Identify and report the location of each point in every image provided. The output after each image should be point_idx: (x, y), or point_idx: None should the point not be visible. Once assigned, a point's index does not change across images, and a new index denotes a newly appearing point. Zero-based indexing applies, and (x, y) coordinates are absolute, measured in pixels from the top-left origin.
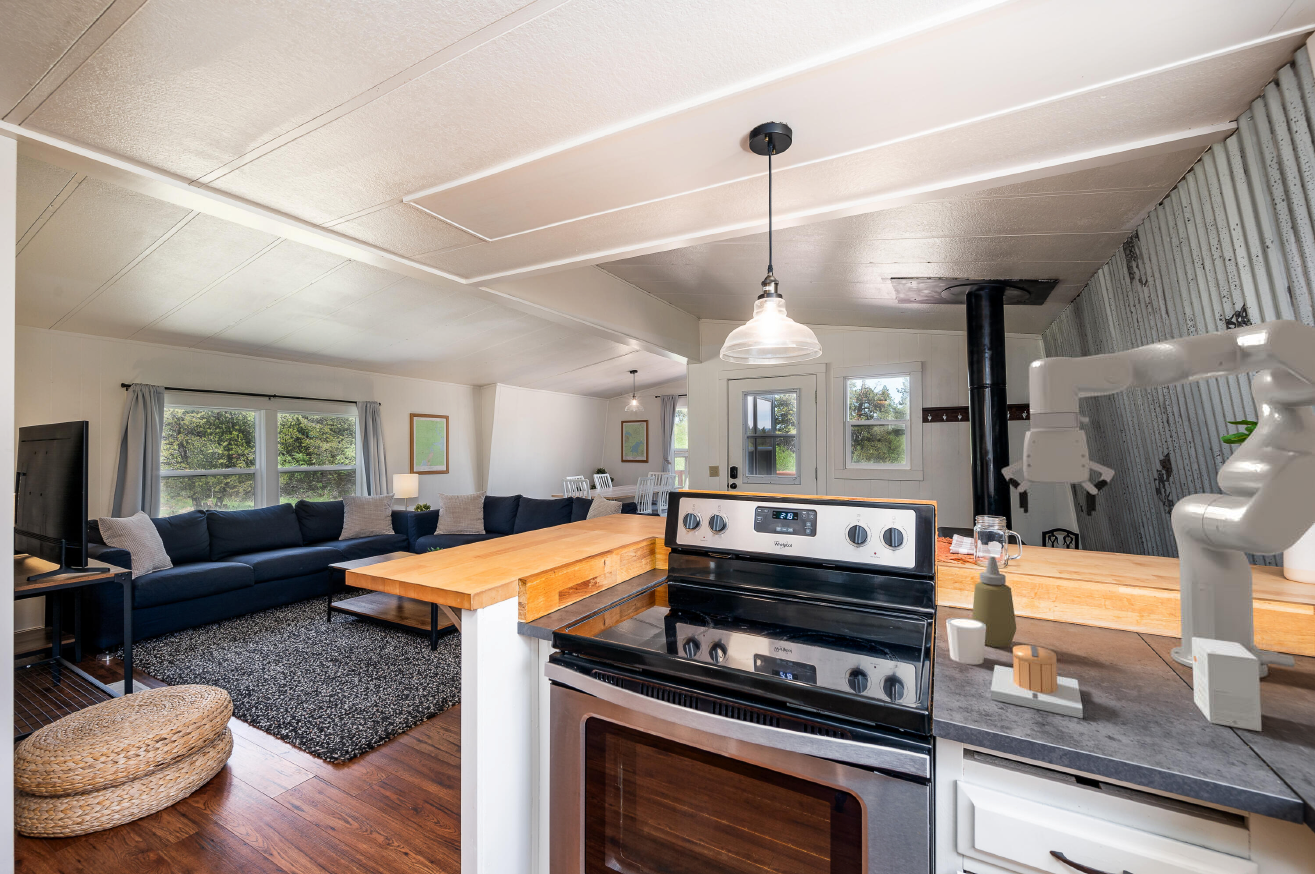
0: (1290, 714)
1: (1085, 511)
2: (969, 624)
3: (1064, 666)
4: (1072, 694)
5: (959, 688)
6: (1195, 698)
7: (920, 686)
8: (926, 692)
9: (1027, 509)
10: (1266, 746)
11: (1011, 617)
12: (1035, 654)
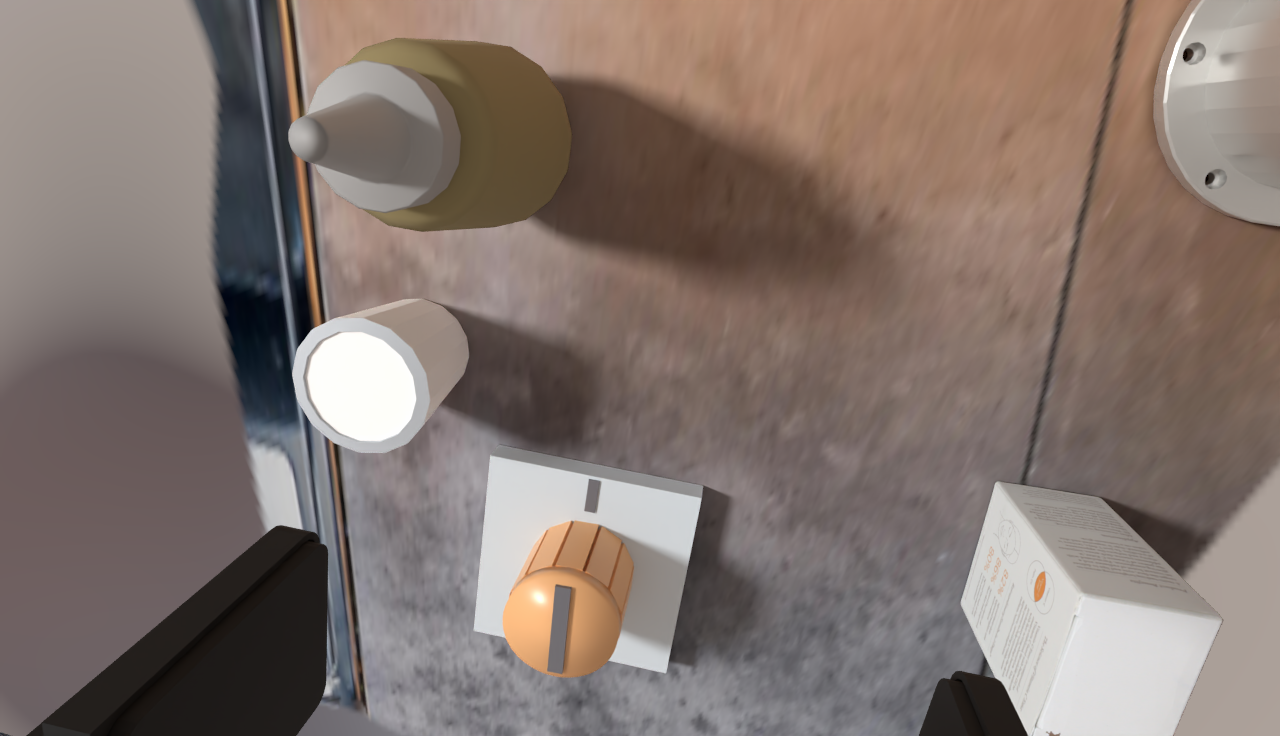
0: (1226, 487)
1: (950, 690)
2: (374, 396)
3: (711, 310)
4: (663, 601)
5: (412, 575)
6: (995, 504)
7: None
8: (343, 619)
9: (297, 725)
10: None
11: (534, 194)
12: (557, 662)
